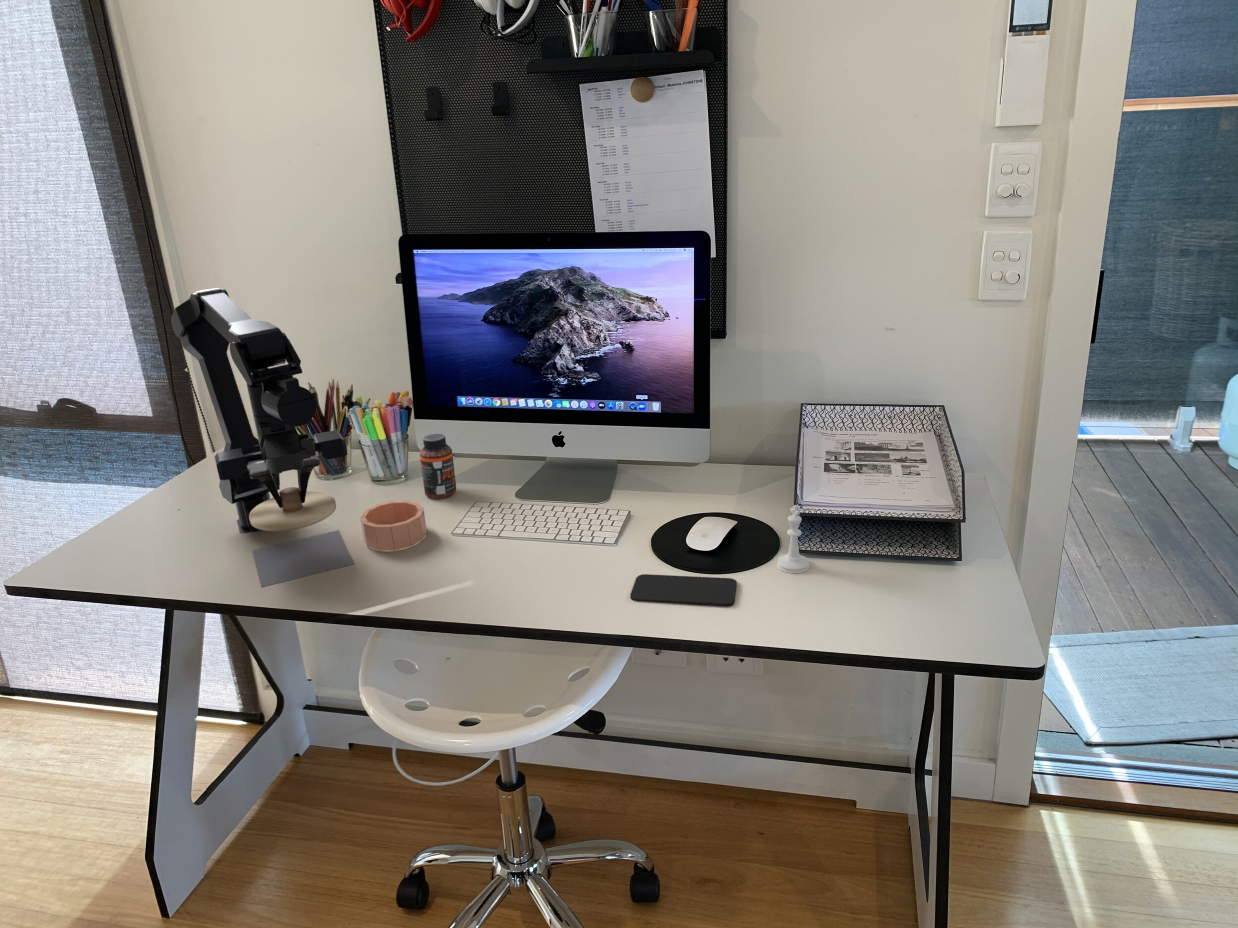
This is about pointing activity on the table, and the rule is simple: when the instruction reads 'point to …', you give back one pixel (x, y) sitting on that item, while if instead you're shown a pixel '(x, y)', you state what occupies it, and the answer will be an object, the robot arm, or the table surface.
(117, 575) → the table surface
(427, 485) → the supplement bottle
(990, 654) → the table surface
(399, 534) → the bowl
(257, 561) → the mat
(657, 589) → the phone
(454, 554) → the table surface
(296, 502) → the lid
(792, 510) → the chess piece
